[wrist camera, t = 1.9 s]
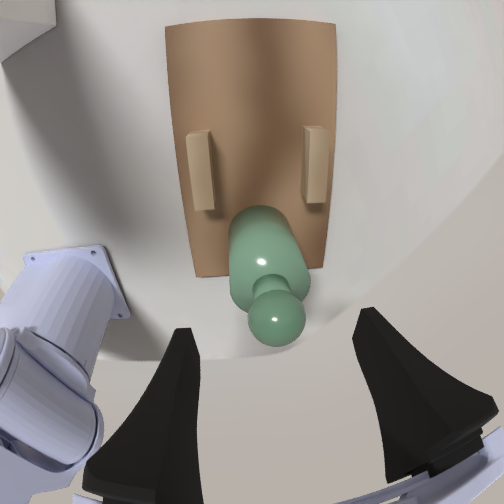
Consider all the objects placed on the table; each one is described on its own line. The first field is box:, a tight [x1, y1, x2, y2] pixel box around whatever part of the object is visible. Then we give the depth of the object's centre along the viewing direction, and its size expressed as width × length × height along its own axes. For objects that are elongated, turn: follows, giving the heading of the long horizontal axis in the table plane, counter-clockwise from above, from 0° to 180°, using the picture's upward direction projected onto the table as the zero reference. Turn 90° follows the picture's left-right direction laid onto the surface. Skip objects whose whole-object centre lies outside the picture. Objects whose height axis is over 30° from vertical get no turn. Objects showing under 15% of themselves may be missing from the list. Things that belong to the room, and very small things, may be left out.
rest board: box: [165, 18, 337, 277], centre depth 16 cm, size 10×18×2 cm, turn 2°
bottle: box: [228, 205, 310, 347], centre depth 16 cm, size 4×4×9 cm
